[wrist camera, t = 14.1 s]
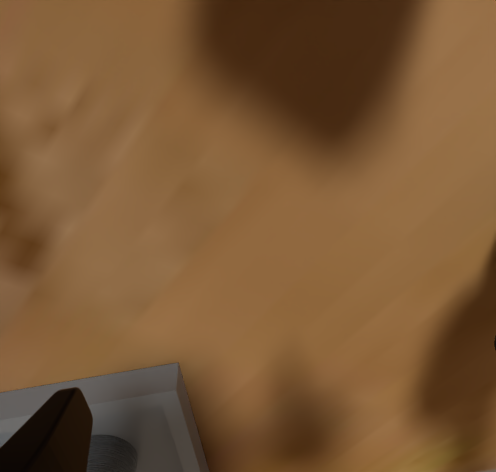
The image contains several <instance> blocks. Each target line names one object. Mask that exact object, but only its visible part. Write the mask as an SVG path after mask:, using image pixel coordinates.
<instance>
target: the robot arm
mask: <svg viewBox="0 0 496 472" xmlns="http://www.w3.org/2000/svg"><path fill="white" fill-rule="evenodd" d="M494 346H495V350H496V336H495V341H494ZM92 427H93V417H92V413H91V410H90V408H89V406H88V404H87V402H86V399H85V397H84V395H83V393H82V391H81V389H79V388H78V387H72V388H67V389H61V390H58V391H57V392H55V393H54V394H53V395H52V396H51V397H50V398H49V399H48V400H47V401H46V402H45V403H44V404H43V405H42V406H41V407H40V408H39V409H38V410H37V411H36V412H35V413H34V414H33V415H32V416H31V417H30V418H29V419H28V420H27V421H26V422H25V423H24V424H23V425H22V426H21V427H20V428H19V429H18V430H17V431H16V432H15V433H14V435H13V436H12V437H11V438H10V439H9V440H8V441H7V442H6V443H5V444H4V445H3V446H2V447H1V448H0V472H86V471H87V464H88V457H89V449H90V442H91V434H92Z"/></svg>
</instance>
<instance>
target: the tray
mask: <svg viewBox="0 0 496 472" xmlns="http://www.w3.org/2000/svg"><path fill="white" fill-rule="evenodd" d="M72 387H78V388H79V389H81V391H82V393H83V395H84V397H85V399H86V402H87V404H88V406H89V408H90V410H91V413H92V417H93V427H92V434H91V435H111V436H116V437H119V438H121V439H124V440H125V441H127V442H129V443H130V444H131V445H132V446H133V447H134V448H135V450H136V452H137V455H138V462H137V468H136V472H209V469H208V465H207V462H206V458H205V455H204V451H203V448H202V444H201V441H200V437H199V434H198V430H197V427H196V423H195V419H194V416H193V412H192V409H191V405H190V402H189V398H188V395H187V391H186V388H185V384H184V381H183V377H182V373H181V370H180V366H179V363H174V364H168V365H162V366H156V367H150V368H144V369H138V370H132V371H127V372H121V373H115V374H109V375H103V376H97V377H91V378H85V379H79V380H73V381H68V382H62V383H56V384H50V385H44V386H38V387H32V388H26V389H20V390H14V391H9V392H3V393H0V448H1V447H2V446H3V445H4V444H5V443H6V442H7V441H8V440H9V439H10V438H11V437H12V436H13V435H14V433H15V432H16V431H17V430H18V429H19V428H20V427H21V426H22V425H23V424H24V423H25V422H26V421H27V420H28V419H29V418H30V417H31V416H32V415H33V414H34V413H35V412H36V411H37V410H38V409H39V408H40V407H41V406H42V405H43V404H44V403H45V402H46V401H47V400H48V399H49V398H50V397H51V396H52V395H53V394H54V393H55V392H57V391H58V390H61V389H67V388H72Z"/></svg>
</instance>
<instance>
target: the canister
mask: <svg viewBox="0 0 496 472" xmlns="http://www.w3.org/2000/svg"><path fill="white" fill-rule="evenodd" d="M137 462H138V455H137V452H136V450H135V448H134V447H133V446H132V445H131V444H130V443H129V442H127V441H125V440H124V439H121V438H119V437H116V436H111V435H91V442H90V449H89V457H88V464H87V471H86V472H136V468H137Z"/></svg>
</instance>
